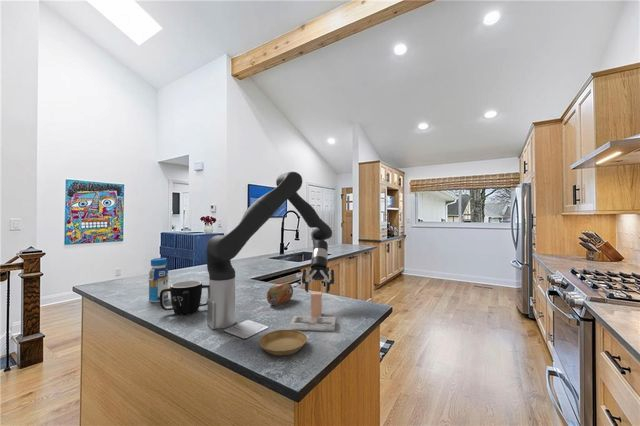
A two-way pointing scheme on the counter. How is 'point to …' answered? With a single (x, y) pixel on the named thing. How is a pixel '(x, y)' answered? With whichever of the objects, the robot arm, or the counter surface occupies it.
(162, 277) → the beverage bottle
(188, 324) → the counter surface
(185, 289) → the mug
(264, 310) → the counter surface
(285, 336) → the plant saucer
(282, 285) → the tin
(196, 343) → the counter surface
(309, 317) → the grey flat frame
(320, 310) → the peg
